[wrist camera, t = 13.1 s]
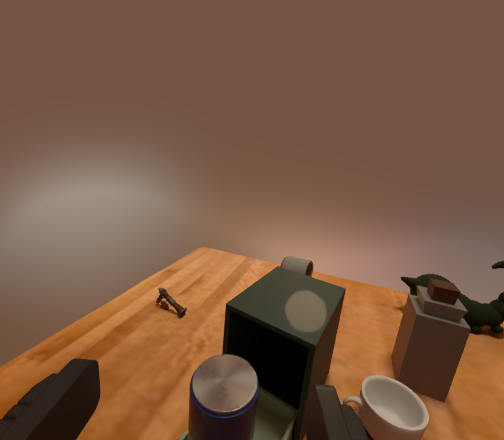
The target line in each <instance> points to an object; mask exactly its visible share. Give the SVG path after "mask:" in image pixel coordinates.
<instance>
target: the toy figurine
mask: <svg viewBox="0 0 504 440" xmlns="http://www.w3.org/2000/svg"><path fill="white" fill-rule="evenodd" d="M492 268H493V269H496V268H504V261H501V262H498V263H496V264H494V265H493V266H492ZM429 278H432V279H437V280H441V281H446V282H450V281H449V280H447V279H445V278H444V277H442V276H439V275H435V274H425V275H421V276H420V277H417V278H415V279H414V278H408V277H401V279H402V280H403V281H404V282H405V283H406V284H407V285H408V286H409V287H410V294H411V295H414V296H417V286H421V287H426V288H428V283H429ZM450 283H451V282H450ZM458 299H459V300H460V302H461V303H462V304H463V306H464V307H465V308H466V310H467V311H468V312H467V313H466V314H465V315H464V316H463V318H464V320H465V321H466V323H467V324H468V325H469V327H470V328H471V331H472V332H474V333H480V332H481V327H483V326H485V325H486V326H490V327H491V330H492V331H493V332H495V333H497V334H501V333H502V332H503V328H502V327H501V326H500V324H502V323H503V321H504V292H503V293H501V294H500V295H499V297H498V299H496V300H493V301H492V302H490V304H486V303H484V304H481V303H479V302H477V301H474V300H470V299H469V298H468V297H466V296H465V295H463V294H461V293H460V295H459V297H458Z"/></svg>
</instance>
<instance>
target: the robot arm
mask: <svg viewBox="0 0 504 440" xmlns="http://www.w3.org/2000/svg"><path fill="white" fill-rule="evenodd" d="M99 399H100V379H99V366H98V362H97V361H96V360H87V359H77V358H75V359H73V360H71V361H70V362H69V363H68V364H67V365H66V366H65V367H64V368H63V369H62V370H61V371H60V372H59V373H58V374H51V375H50V376H48V377H47V378H45V379H44V380H42V381H41V382H39V383H38V384H36V385H35V386H33V387H32V388H31V389H30V390H29V391H28V392H27V393H26V394H25V395H24V396H23V397H22V398H21V399H20V400H19V401H18V403H17V405H14V406H13V407H12V408H11V409H10V410H9V411H8V412H7V413H6V414H5V415H4V418H3V419H2V420H1V419H0V440H76V439H77V437H78V436H79V434H80V433H81V431H82V430H83V428H84V427H85V425H86V424H87V422H88V421H89V419H90V418H91V416H92V415H93V413H94V411H95V409H96V407H97V405H98V402H99ZM306 437H307V440H369V438H368V436H367V433H366V431H365V428H364V425H363V423H362V421H361V420H360V418H359V417H358V416H357V414H356V413H355V412H354V410H353V409H352V408H351V406H349V405H341V404H340V401H339V398H338V395H337V392H336V389H335V388H334V386H329V385H320V384H312V386H311V391H310V396H309V402H308V407H307V412H306Z"/></svg>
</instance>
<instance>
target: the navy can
mask: <svg viewBox="0 0 504 440" xmlns="http://www.w3.org/2000/svg"><path fill="white" fill-rule="evenodd" d="M258 394H259V380H258V377H257V374H256V373H255V371H254V369H253V367H252V366H251V365H250V364H249V363H248V362H247V361H246V360H244V359H242V358H240V357H238V356H235V355H229V354H222V355H217V356H213V357H211V358H209V359H207V360H205V361H204V362H203V363H202V364H201V365H200V366H199V367H198V368H197V370H196V371H195V373H194V374H193V376H192V379H191V382H190V397H189V425H188V440H253V436H254V427H255V419H256V411H257V403H258Z"/></svg>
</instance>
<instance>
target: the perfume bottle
mask: <svg viewBox="0 0 504 440" xmlns="http://www.w3.org/2000/svg"><path fill="white" fill-rule="evenodd" d="M459 295H460V291H459V290H458V288H457V287H456V286H455V285H454V284H453V283H450V282H446V281H441V280H437V279H432V278H429V283H428V288H426V287H421V286H417V296H414V295H410V294H409V295H408V298H407V302H406V305H405V309H404V313H403V316H402V320H401V324H400V327H399V331H398V335H397V338H396V342H395V345H394V349H393V353H392V362H393V367H394V373H395V379H396V380H397V381H399V382H400V383H402V384H404V385H405V386H407V387H408V388H409V389H411V390H413V391H416V392H419V393H421V394H424V395H427V396H430V397H432V398H435V399H438V400H440V401H443V402H445V400H446V397H447V394H448V392H449V389H450V386H451V383H452V381H453V378H454V375H455V372H456V369H457V367H458V364H459V361H460V358H461V355H462V353H463V350H464V347H465V344H466V341H467V339H468V336H469V333H470V330H471V328H470V327H469V325H468V324H467V323H466V321H465V320H464V318H463V316H464V315H465V314H466V313H467V312H468V311H467V310H466V308H465V307H464V306H463V304H462V303H461V302H460V300H459V299H458V297H459Z"/></svg>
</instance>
